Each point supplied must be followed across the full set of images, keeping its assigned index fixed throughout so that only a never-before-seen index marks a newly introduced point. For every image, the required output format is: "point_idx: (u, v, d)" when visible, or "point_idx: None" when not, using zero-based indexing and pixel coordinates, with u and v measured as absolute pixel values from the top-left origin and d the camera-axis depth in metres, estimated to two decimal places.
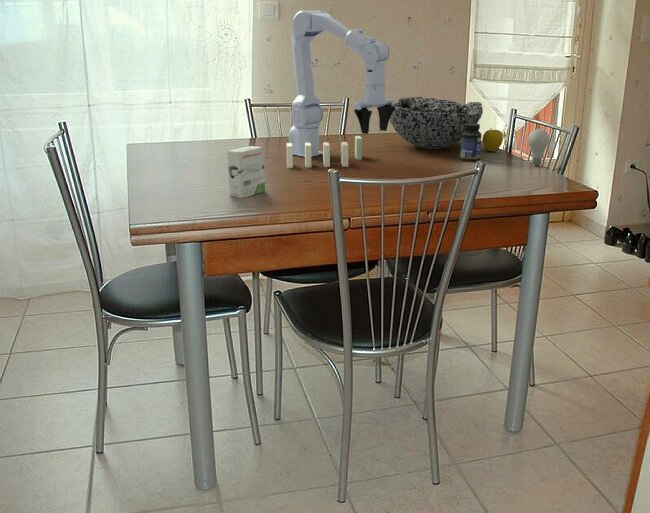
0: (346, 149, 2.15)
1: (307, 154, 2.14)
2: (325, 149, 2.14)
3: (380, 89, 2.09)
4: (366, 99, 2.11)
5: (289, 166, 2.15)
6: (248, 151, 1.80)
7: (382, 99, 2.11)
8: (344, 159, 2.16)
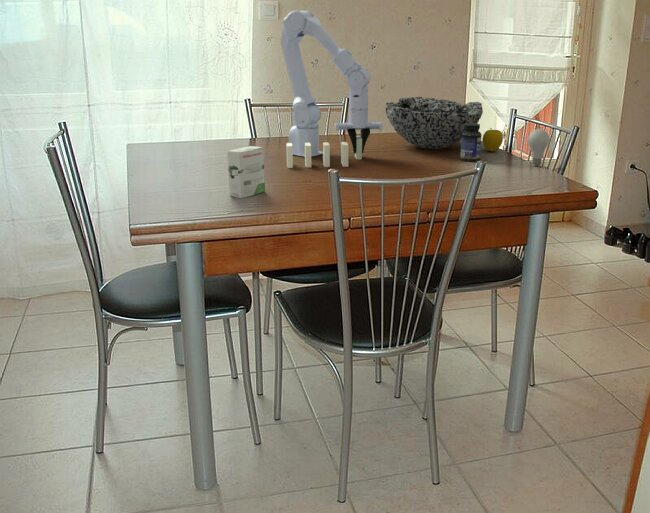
0: (346, 149, 2.15)
1: (307, 154, 2.14)
2: (325, 149, 2.14)
3: (358, 113, 2.21)
4: None
5: (289, 166, 2.15)
6: (248, 151, 1.80)
7: (360, 122, 2.22)
8: (344, 159, 2.16)
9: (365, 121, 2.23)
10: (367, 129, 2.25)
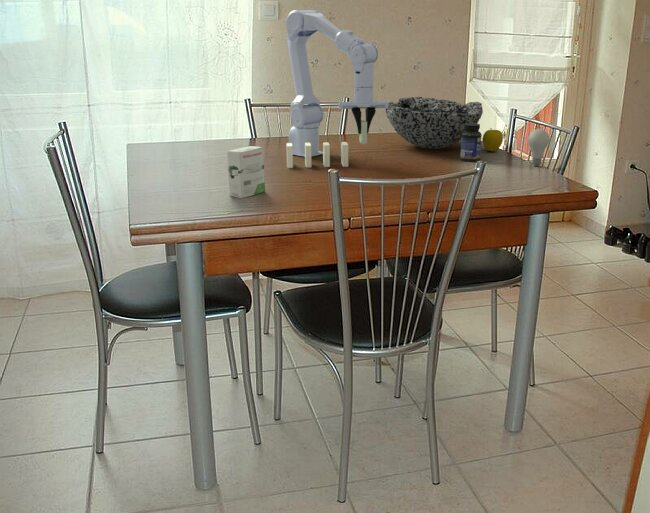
0: (346, 149, 2.15)
1: (307, 154, 2.14)
2: (325, 149, 2.14)
3: (363, 91, 2.09)
4: None
5: (289, 166, 2.15)
6: (248, 151, 1.80)
7: (366, 101, 2.10)
8: (344, 159, 2.16)
9: (370, 99, 2.11)
10: (372, 108, 2.13)
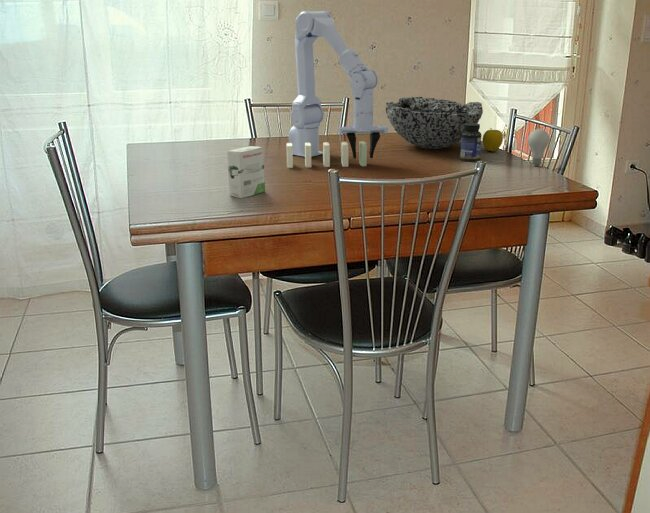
0: (346, 149, 2.15)
1: (307, 154, 2.14)
2: (325, 149, 2.14)
3: (362, 116, 2.12)
4: None
5: (289, 166, 2.15)
6: (248, 151, 1.80)
7: (365, 126, 2.13)
8: (344, 159, 2.16)
9: (370, 125, 2.13)
10: (372, 133, 2.15)
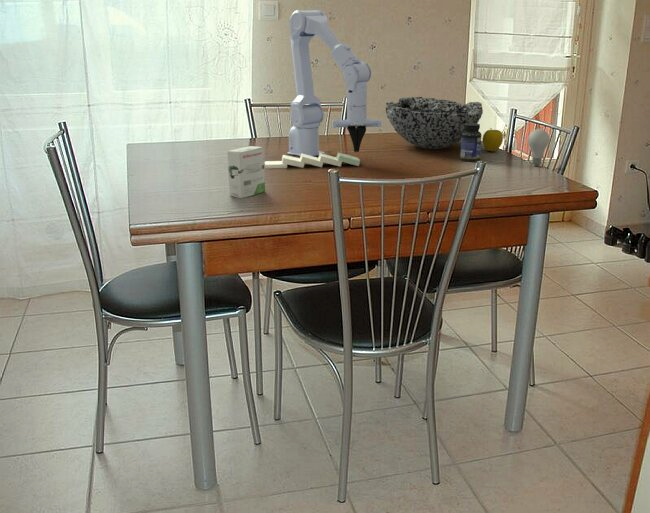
0: (325, 159, 2.15)
1: (291, 163, 2.15)
2: (305, 161, 2.15)
3: (356, 110, 2.11)
4: None
5: (285, 167, 2.15)
6: (248, 151, 1.80)
7: (359, 120, 2.12)
8: (334, 163, 2.16)
9: (363, 118, 2.13)
10: (366, 126, 2.15)
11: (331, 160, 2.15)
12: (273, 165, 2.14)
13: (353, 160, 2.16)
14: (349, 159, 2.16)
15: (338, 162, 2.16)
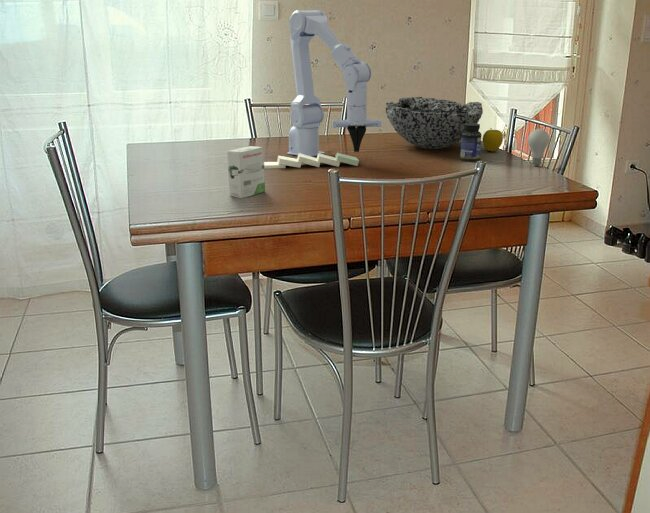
0: (323, 159, 2.15)
1: (287, 163, 2.14)
2: (302, 161, 2.15)
3: (356, 110, 2.11)
4: None
5: None
6: (248, 151, 1.80)
7: (359, 120, 2.12)
8: (332, 163, 2.16)
9: (363, 118, 2.13)
10: (366, 126, 2.15)
11: (329, 160, 2.16)
12: (271, 166, 2.14)
13: (352, 160, 2.16)
14: (348, 159, 2.16)
15: (336, 162, 2.16)
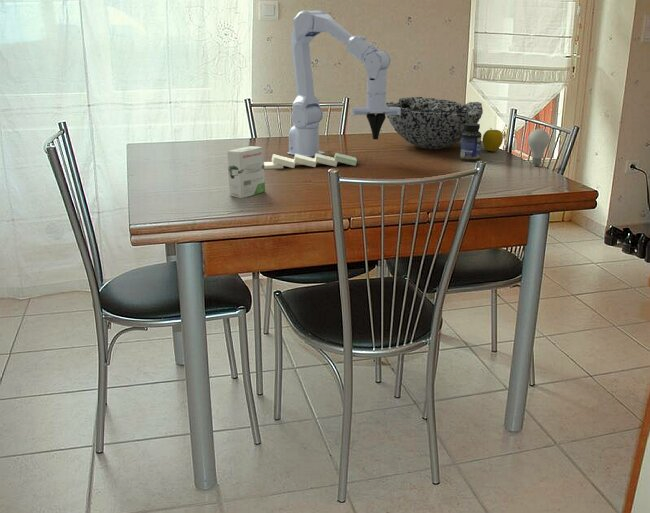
0: (320, 159, 2.15)
1: (281, 163, 2.14)
2: (298, 162, 2.15)
3: (375, 97, 2.12)
4: (366, 106, 2.16)
5: None
6: (248, 151, 1.80)
7: (378, 107, 2.13)
8: (329, 163, 2.16)
9: (383, 106, 2.14)
10: (385, 114, 2.16)
11: (326, 160, 2.16)
12: (269, 166, 2.14)
13: (350, 160, 2.16)
14: (346, 159, 2.16)
15: (333, 162, 2.16)
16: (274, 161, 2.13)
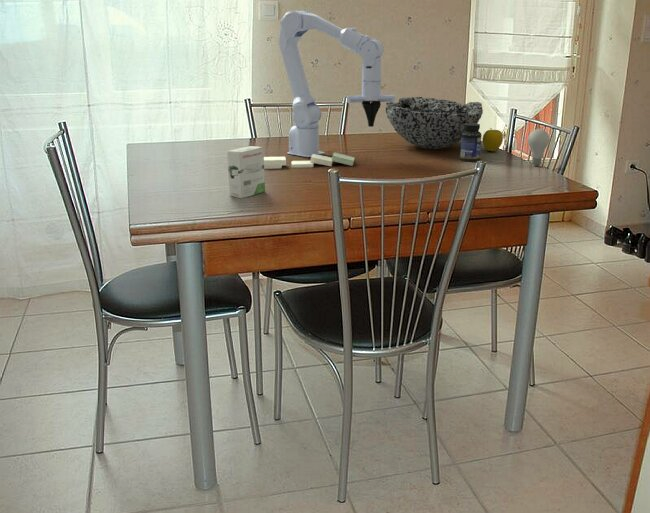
0: (315, 159, 2.17)
1: (272, 163, 2.14)
2: None
3: (370, 85, 2.17)
4: None
5: None
6: (248, 151, 1.80)
7: (373, 95, 2.18)
8: (324, 163, 2.17)
9: (378, 93, 2.18)
10: None
11: (321, 160, 2.17)
12: (268, 166, 2.14)
13: (346, 160, 2.17)
14: (342, 159, 2.17)
15: (328, 162, 2.17)
16: (265, 164, 2.14)
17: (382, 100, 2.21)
